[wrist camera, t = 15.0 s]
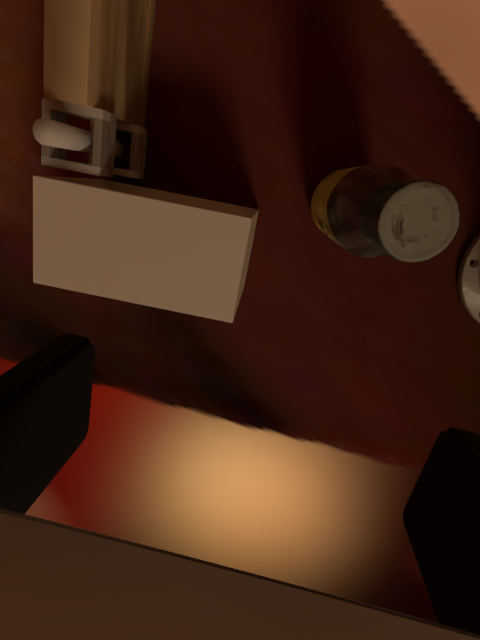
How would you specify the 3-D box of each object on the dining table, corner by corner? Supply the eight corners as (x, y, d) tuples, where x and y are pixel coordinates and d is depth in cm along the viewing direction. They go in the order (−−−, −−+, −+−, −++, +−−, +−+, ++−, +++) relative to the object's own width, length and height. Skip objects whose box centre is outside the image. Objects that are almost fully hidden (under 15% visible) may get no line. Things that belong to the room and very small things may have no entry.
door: (164, -7, 33) (107, -106, 22) (146, 179, 39) (93, 175, 27) (115, -16, 33) (33, -120, 22) (104, 170, 39) (33, 163, 27)
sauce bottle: (299, 222, 39) (321, 256, 20) (325, 159, 37) (377, 130, 18) (359, 246, 39) (437, 301, 20) (388, 184, 37) (506, 182, 18)
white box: (266, 169, 37) (261, 159, 24) (244, 285, 41) (229, 332, 28) (106, 138, 38) (14, 112, 24) (99, 256, 42) (17, 288, 28)
